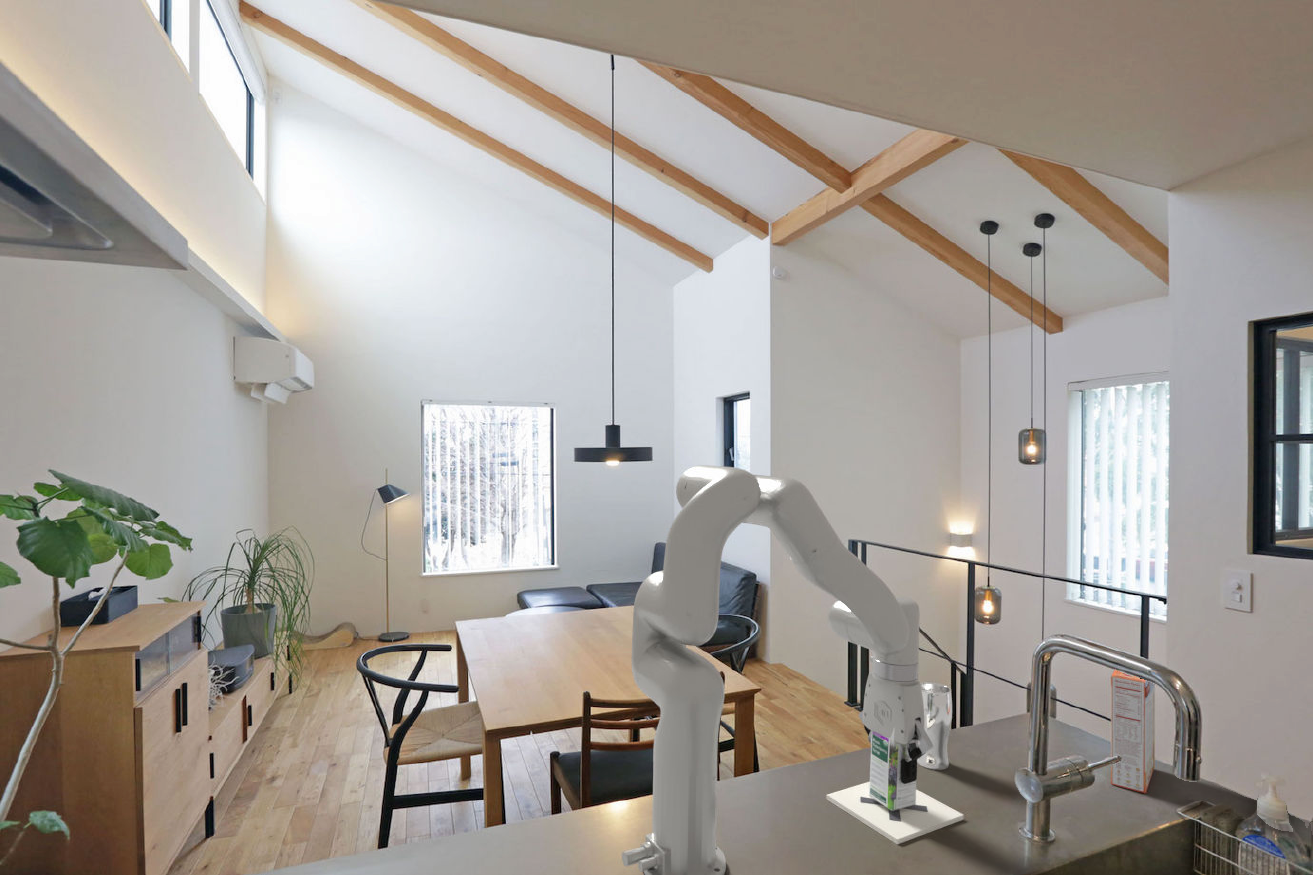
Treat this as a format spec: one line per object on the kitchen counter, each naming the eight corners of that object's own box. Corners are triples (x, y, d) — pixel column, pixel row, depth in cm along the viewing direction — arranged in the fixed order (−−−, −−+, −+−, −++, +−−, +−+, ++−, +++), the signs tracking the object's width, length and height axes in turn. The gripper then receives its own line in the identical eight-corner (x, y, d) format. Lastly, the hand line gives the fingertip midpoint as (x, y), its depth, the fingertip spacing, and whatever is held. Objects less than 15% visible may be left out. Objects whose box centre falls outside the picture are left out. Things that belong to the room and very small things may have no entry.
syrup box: (867, 796, 125) (870, 713, 125) (893, 789, 128) (895, 708, 128) (891, 811, 120) (893, 725, 120) (917, 804, 123) (919, 720, 123)
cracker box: (1119, 759, 145) (1121, 657, 145) (1155, 769, 141) (1157, 663, 141) (1107, 784, 134) (1109, 673, 134) (1146, 795, 130) (1148, 680, 130)
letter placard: (897, 844, 113) (897, 838, 113) (826, 799, 127) (826, 794, 127) (963, 819, 121) (963, 814, 121) (890, 779, 135) (890, 774, 135)
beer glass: (954, 772, 138) (955, 695, 138) (916, 768, 139) (917, 692, 139) (947, 757, 145) (948, 683, 145) (911, 753, 146) (912, 680, 146)
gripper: (843, 658, 129) (841, 757, 129) (921, 688, 114) (918, 800, 114) (873, 653, 133) (871, 749, 133) (952, 681, 118) (949, 790, 118)
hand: (893, 772), depth 124 cm, fingers open, 6 cm apart
